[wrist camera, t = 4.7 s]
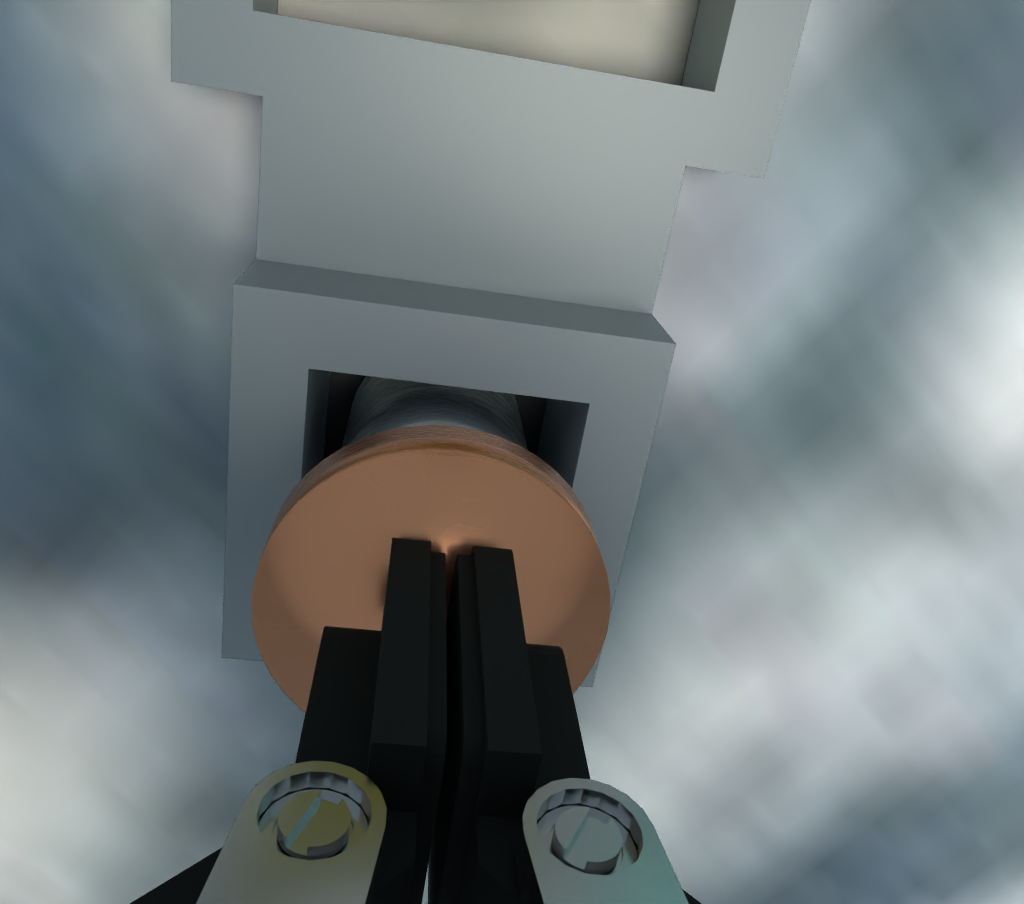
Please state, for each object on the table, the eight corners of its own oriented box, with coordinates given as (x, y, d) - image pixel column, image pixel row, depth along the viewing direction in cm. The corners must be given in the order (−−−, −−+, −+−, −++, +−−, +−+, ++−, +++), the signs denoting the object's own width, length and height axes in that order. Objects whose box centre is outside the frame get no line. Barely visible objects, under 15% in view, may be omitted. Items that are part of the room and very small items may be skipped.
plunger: (531, 537, 20) (574, 763, 14) (308, 515, 19) (244, 742, 13) (572, 327, 18) (644, 477, 12) (325, 294, 17) (259, 433, 11)
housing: (622, 581, 21) (661, 692, 17) (198, 540, 19) (142, 651, 16) (892, -514, 13) (1068, -736, 9) (218, -706, 12) (118, -1046, 8)
